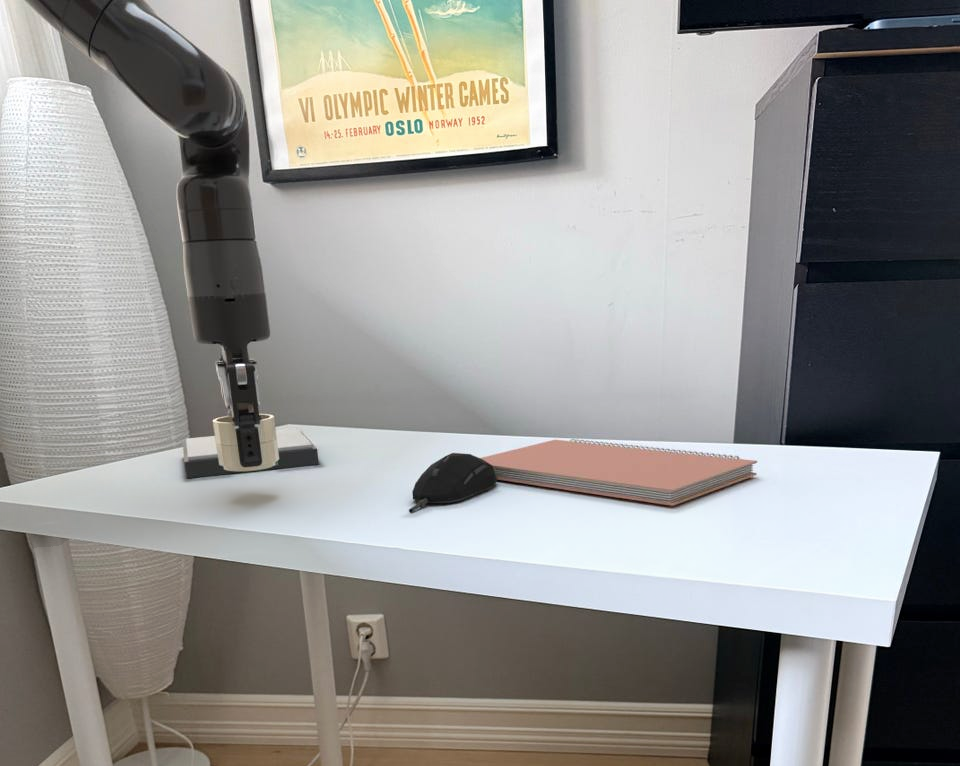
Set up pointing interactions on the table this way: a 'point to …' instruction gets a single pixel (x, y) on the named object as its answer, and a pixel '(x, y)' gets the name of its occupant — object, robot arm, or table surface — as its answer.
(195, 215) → the robot arm
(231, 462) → the container
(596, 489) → the notebook
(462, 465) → the gaming mouse
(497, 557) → the table surface
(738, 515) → the table surface
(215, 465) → the scale
